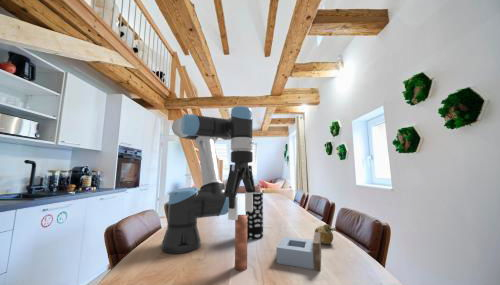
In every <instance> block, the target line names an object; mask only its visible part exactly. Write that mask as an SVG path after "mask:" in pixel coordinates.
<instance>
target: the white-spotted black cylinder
mask: <svg viewBox="0 0 500 285" xmlns="http://www.w3.org/2000/svg"><path fill="white" fill-rule="evenodd" d="M252 193H253V211H252V212H251V211H245V215H247V240H256V241H257V240H261V239H263V238H264V193H263V192H260V191H259V192H258V191H255V192H252Z"/></svg>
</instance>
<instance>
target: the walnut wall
mask: <svg viewBox="0 0 500 285" xmlns="http://www.w3.org/2000/svg"><path fill="white" fill-rule="evenodd" d="M312 240H313V260H314V269H313V270H314V271H320V272H321V271H322V270H321V267H322V243H321V235H320V232H315V231H314V235H313V239H312Z"/></svg>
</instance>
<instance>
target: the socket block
mask: <svg viewBox="0 0 500 285" xmlns="http://www.w3.org/2000/svg"><path fill="white" fill-rule="evenodd" d="M275 248H276V253H275V254H276V264H280V265H286V266H293V267H299V268H303V269H304V268H305V269H311V270H314V260H313V239H306V238H300V237H299V238H298V237H289V236H283V237H282V238H281V239H280V241H279V243H278V244H277V246H276V247H275Z"/></svg>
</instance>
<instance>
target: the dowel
mask: <svg viewBox="0 0 500 285" xmlns="http://www.w3.org/2000/svg"><path fill="white" fill-rule="evenodd" d="M234 222H235V223H234V270H236V271H239V272H243V271H246V270H247V269H248V238H247V215H246V214H238V220H234Z"/></svg>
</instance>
